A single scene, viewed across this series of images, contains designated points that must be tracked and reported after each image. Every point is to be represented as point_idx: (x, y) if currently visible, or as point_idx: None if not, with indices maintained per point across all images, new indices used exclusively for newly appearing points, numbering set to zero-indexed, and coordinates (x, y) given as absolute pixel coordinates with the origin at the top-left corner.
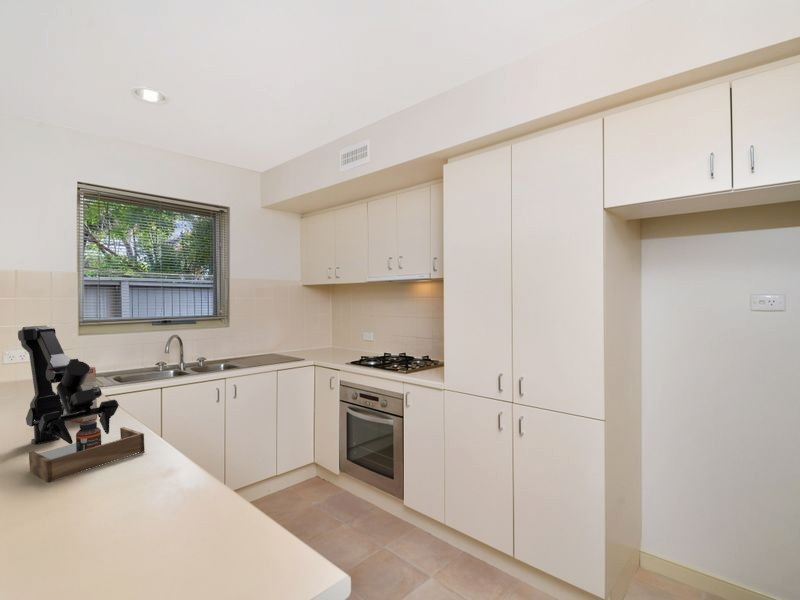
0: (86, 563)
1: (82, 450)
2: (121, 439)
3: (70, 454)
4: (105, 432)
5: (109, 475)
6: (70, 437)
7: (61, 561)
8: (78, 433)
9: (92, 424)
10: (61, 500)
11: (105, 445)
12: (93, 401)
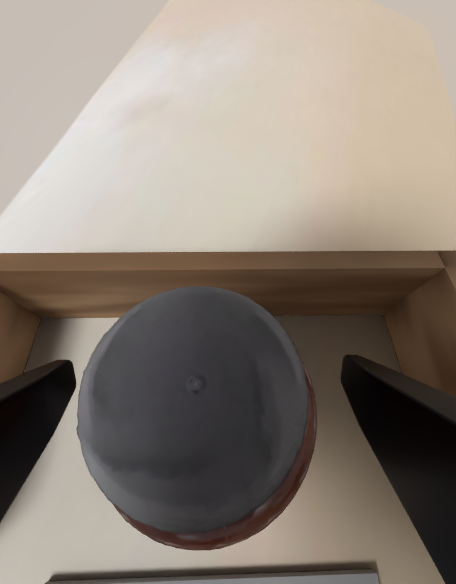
0: (355, 17)
1: (294, 265)
2: (85, 261)
3: (353, 257)
4: (63, 412)
5: (236, 196)
6: (374, 369)
7: (377, 31)
8: (307, 380)
9: (185, 289)
10: (365, 157)
11: (181, 255)
12: None
